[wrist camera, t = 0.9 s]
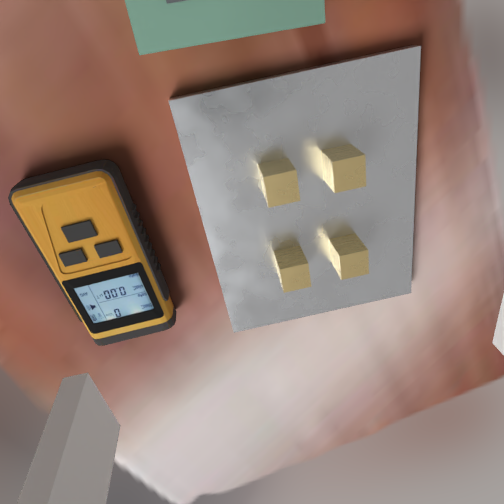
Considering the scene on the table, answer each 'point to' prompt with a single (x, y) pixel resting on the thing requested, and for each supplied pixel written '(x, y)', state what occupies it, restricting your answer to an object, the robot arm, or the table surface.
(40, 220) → the electronic device
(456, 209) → the table surface
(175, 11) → the block
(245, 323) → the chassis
